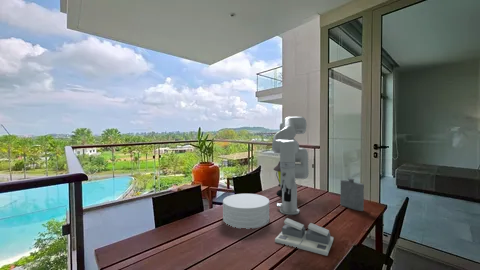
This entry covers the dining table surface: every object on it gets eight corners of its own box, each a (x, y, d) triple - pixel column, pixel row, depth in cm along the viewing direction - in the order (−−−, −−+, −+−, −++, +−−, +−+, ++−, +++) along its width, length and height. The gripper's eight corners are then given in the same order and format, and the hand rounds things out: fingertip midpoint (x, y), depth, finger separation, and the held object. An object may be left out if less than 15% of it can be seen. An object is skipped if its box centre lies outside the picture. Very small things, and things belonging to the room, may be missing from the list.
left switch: (283, 223, 117) (284, 220, 117) (286, 220, 121) (287, 217, 120) (301, 230, 112) (301, 228, 112) (303, 227, 116) (304, 224, 116)
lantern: (291, 190, 202) (291, 155, 201) (305, 196, 184) (305, 158, 183) (266, 193, 193) (266, 157, 192) (278, 199, 175) (278, 160, 174)
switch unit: (274, 242, 111) (274, 232, 111) (286, 229, 125) (286, 221, 125) (327, 255, 99) (327, 245, 99) (333, 240, 113) (333, 231, 113)
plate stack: (213, 223, 134) (213, 203, 134) (236, 208, 159) (236, 191, 159) (258, 233, 121) (258, 211, 121) (275, 215, 146) (275, 197, 145)
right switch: (307, 228, 111) (308, 225, 111) (309, 224, 114) (310, 222, 114) (326, 236, 106) (327, 234, 106) (328, 232, 110) (329, 230, 110)
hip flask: (364, 210, 152) (364, 180, 151) (361, 211, 150) (361, 181, 149) (342, 203, 165) (342, 176, 164) (338, 204, 163) (338, 176, 162)
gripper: (289, 167, 109) (289, 206, 109) (299, 163, 122) (299, 198, 122) (274, 166, 113) (275, 204, 113) (285, 162, 125) (285, 196, 126)
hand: (287, 201), depth 117 cm, fingers closed
